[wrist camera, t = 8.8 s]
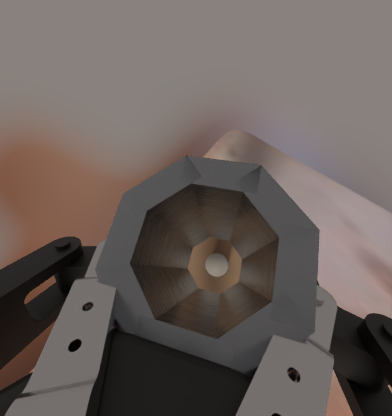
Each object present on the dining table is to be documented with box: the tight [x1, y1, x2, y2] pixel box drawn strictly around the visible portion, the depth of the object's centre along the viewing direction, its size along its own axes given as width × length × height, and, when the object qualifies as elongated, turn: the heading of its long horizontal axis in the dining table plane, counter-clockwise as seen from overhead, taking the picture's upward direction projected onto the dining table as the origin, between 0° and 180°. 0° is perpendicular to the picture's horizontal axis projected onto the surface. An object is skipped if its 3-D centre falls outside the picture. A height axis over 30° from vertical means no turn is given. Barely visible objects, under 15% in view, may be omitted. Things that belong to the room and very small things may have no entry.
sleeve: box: [95, 155, 319, 378], centre depth 10 cm, size 6×6×10 cm
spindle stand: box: [188, 237, 242, 294], centre depth 23 cm, size 13×14×7 cm
